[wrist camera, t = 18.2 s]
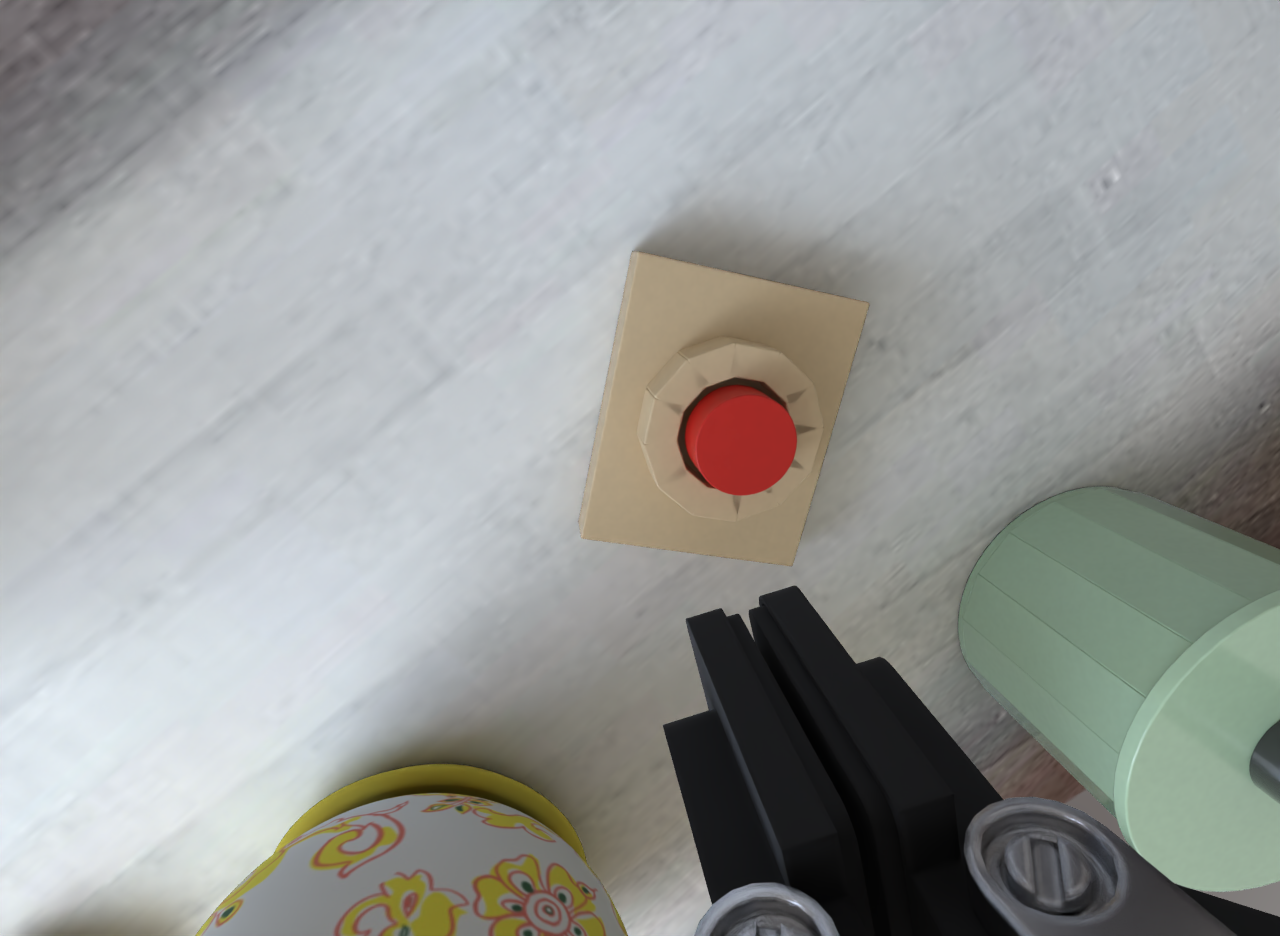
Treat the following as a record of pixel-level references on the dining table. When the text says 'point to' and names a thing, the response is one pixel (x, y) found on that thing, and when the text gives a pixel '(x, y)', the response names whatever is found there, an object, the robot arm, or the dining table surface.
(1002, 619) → the mint green cup
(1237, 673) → the lid
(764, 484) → the button
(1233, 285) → the dining table surface
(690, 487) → the switch block
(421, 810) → the flowerpot
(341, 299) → the dining table surface
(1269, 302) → the dining table surface
